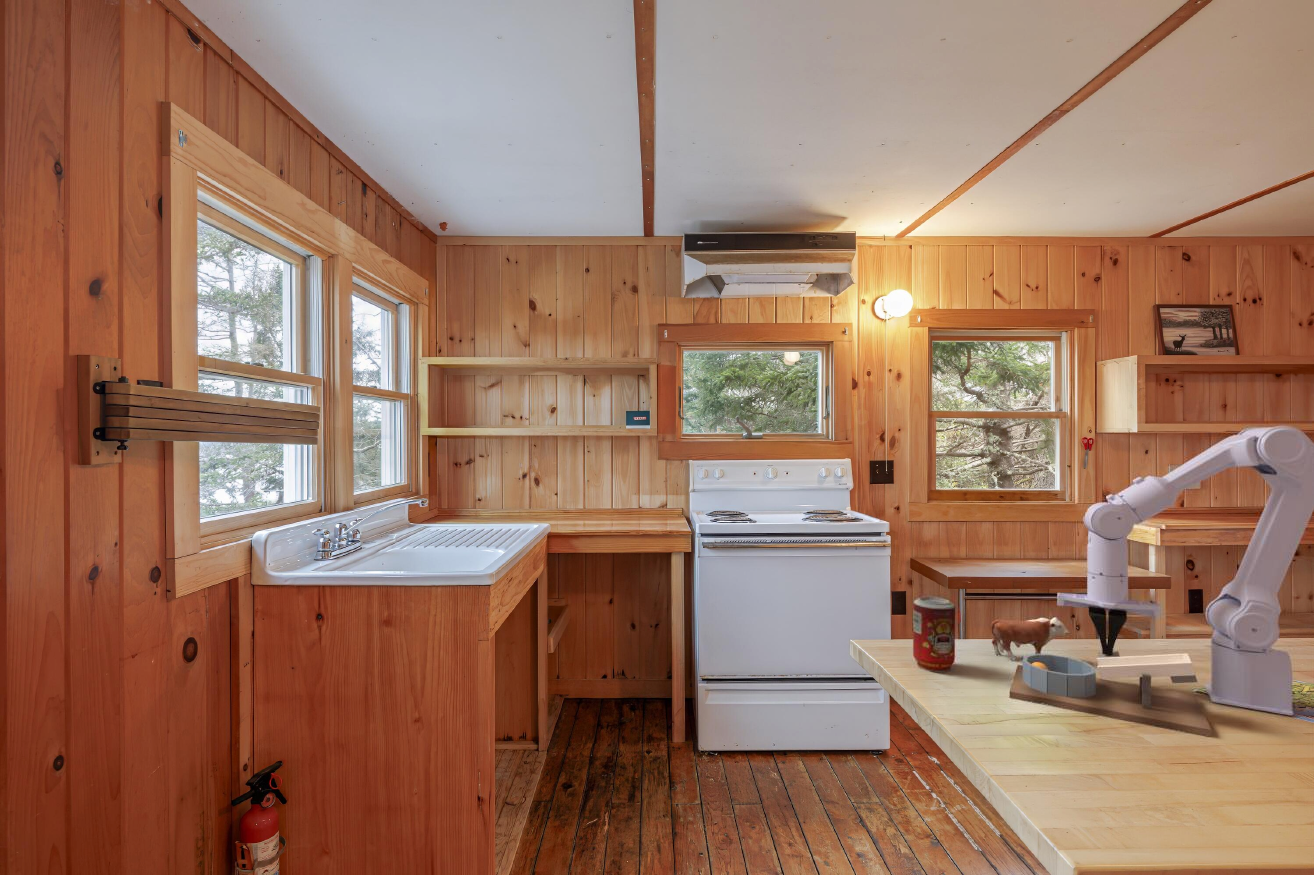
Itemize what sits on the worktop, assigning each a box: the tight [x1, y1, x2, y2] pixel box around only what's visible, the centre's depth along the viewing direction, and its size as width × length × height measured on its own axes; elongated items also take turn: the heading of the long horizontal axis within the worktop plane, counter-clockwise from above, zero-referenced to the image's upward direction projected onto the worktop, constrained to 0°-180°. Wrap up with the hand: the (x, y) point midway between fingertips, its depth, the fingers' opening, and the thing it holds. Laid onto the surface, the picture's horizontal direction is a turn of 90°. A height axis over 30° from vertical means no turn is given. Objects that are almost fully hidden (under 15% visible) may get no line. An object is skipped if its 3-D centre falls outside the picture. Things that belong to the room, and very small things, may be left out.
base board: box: [1009, 664, 1212, 738], centre depth 105 cm, size 25×15×6 cm, turn 57°
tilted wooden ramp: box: [1096, 650, 1198, 684], centre depth 105 cm, size 12×13×3 cm
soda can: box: [912, 595, 956, 673], centre depth 120 cm, size 7×7×12 cm
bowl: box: [1022, 653, 1097, 698], centre depth 108 cm, size 10×10×4 cm
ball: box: [1032, 662, 1049, 671], centre depth 110 cm, size 3×3×3 cm
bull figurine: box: [990, 617, 1070, 661], centre depth 124 cm, size 4×13×8 cm, turn 79°
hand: (1107, 653), depth 111 cm, fingers closed
